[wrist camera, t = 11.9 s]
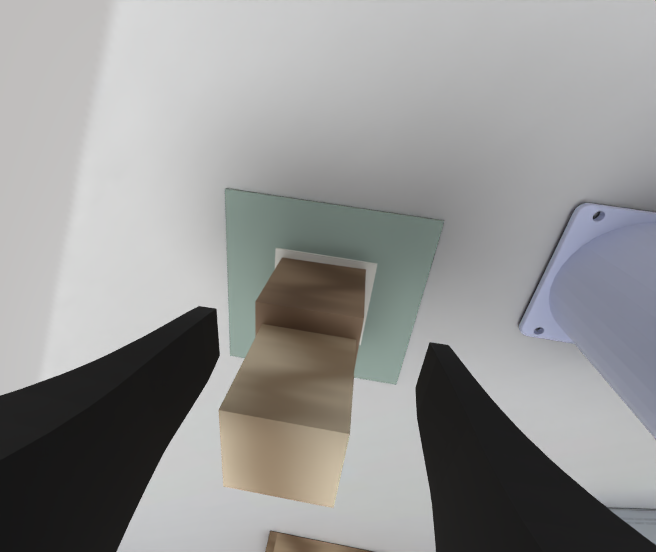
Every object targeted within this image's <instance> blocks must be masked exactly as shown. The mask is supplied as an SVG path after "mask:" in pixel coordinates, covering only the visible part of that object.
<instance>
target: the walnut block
mask: <svg viewBox="0 0 656 552" xmlns="http://www.w3.org/2000/svg"><path fill="white" fill-rule="evenodd" d="M365 281H366V269H359V268H352V267H345V266H338V265H331V264H324V263H318V262H311V261H304V260H297V259H290V258H283V257H282V258H281V260H280V261H279V263H278V265H277V266H276V268H275V270H274V271H273V273H272V275H271V276H270V278H269V280H268V281H267V283H266V285H265V286H264V288H263V290H262V291H261V293H260V295H259V296H258V298H257V300H256V301H255V337H256V335H257V333H258V332H259V330H260V328H261V326H262V324H265V325H271V326H277V327H283V328H289V329H295V330H301V331H307V332H313V333H319V334H325V335H331V336H337V337H343V338H349V339H355V340H356V353H355V364H356V359H357V353H358V348H359V342H360V337H361V332H362V326H363V321H364V305H365ZM354 370H355V367H354Z"/></svg>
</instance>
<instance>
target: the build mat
mask: <svg viewBox="0 0 656 552" xmlns="http://www.w3.org/2000/svg"><path fill="white" fill-rule="evenodd" d="M225 209H226V241H227V272H228V303H229V334H230V356H235V357H241V358H245V357H246V355H247V353H248V351H249V349H250V347H251V345H252V343H253V341H254V339H255V301H256V300H257V298H258V296H259V295H260V293H261V291H262V290H263V288H264V286H265V285H266V283H267V281H268V280H269V278H270V276H271V275H272V273H273V271H274V270H275V268H276V266H277V265H278V263H279V261H280V260H281V258H282V257H283V258H290V259H297V260H304V261H311V262H318V263H324V264H331V265H338V266H345V267H352V268H359V269H366V281H365V305H364V321H363V326H362V332H361V337H360V342H359V348H358V353H357V359H356V364H355V370H354V377H355V378H360V379H366V380H372V381H377V382H383V383H389V384H394V385H396V384H397V380H398V377H399V373H400V370H401V367H402V363H403V360H404V357H405V353H406V350H407V346H408V343H409V340H410V336H411V333H412V329H413V326H414V323H415V319H416V316H417V312H418V309H419V306H420V302H421V299H422V295H423V292H424V289H425V285H426V282H427V278H428V275H429V272H430V268H431V265H432V262H433V258H434V255H435V251H436V248H437V245H438V241H439V238H440V234H441V231H442V228H443V224H444V221H443V220H436V219H429V218H423V217H416V216H409V215H402V214H396V213H389V212H382V211H375V210H369V209H362V208H355V207H348V206H342V205H335V204H328V203H322V202H315V201H308V200H301V199H295V198H288V197H281V196H274V195H268V194H261V193H254V192H247V191H241V190H234V189H227V188H226V189H225Z"/></svg>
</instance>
